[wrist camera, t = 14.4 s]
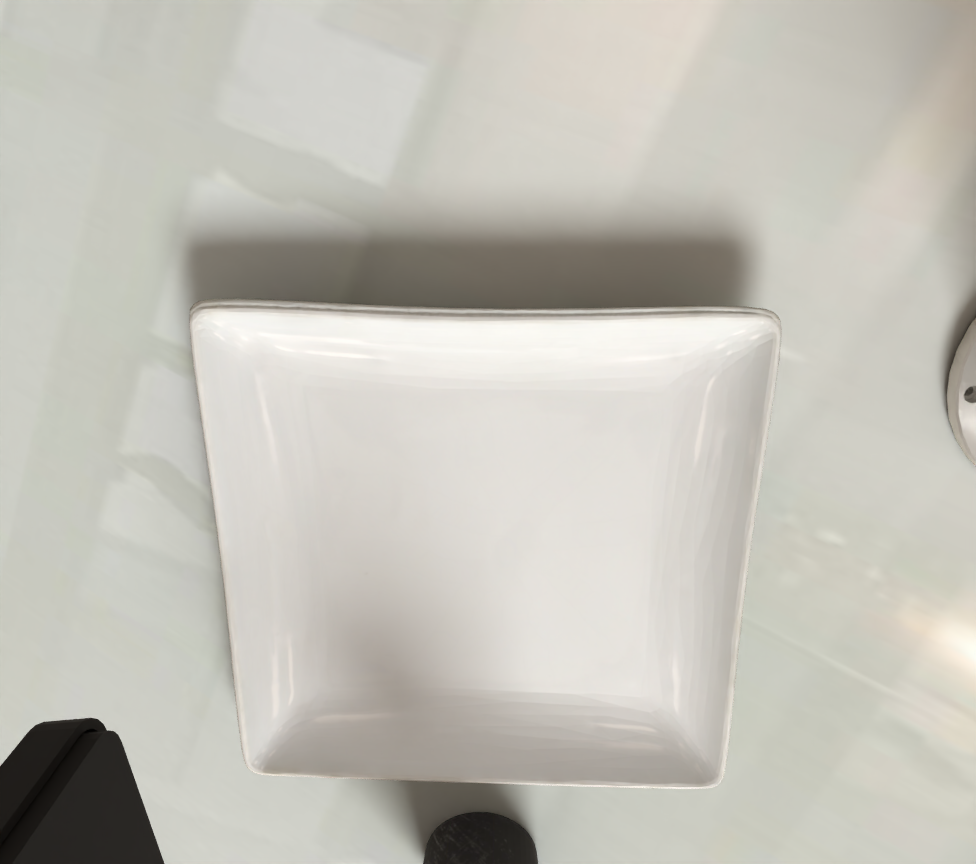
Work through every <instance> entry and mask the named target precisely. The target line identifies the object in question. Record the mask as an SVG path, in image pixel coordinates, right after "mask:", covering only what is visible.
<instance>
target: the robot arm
mask: <svg viewBox="0 0 976 864" xmlns="http://www.w3.org/2000/svg"><path fill="white" fill-rule="evenodd" d="M967 389H968V390H967ZM966 390H967V391H966ZM965 391H966V392H965ZM947 404H948V415H949V421H950V424H951V427H952V430H953V433H954V436H955V439H956V441H957V442H958V444H959V446H960V447H961V449H962V450H963V452H964V454H965V455H966V457H967V458H968V459H969V460H970V461H971V462H972V463H973V464H974V465H975V466H976V318H975V319H974V321H973V322H972V323H971V325H970V326H969V328H968V330H967V332H966V333H965V335H964V337H963V339H962V341H961V343H960V345H959V347H958V349H957V351H956V354H955V358H954V361H953V364H952V367H951V370H950V374H949V382H948V390H947ZM0 864H164V861H163V859H162V856H161V853H160V850H159V847H158V844H157V841H156V839H155V836H154V833H153V830H152V827H151V824H150V821H149V819H148V816H147V813H146V810H145V807H144V804H143V802H142V799H141V796H140V793H139V790H138V787H137V784H136V782H135V779H134V776H133V773H132V770H131V767H130V765H129V762H128V759H127V756H126V753H125V750H124V747H123V745H122V742H121V740H120V738H119V736H118V734H116V733H115V732H114V731H107V730H106V728H105V726H104V724H103V723H102V722H100V721H99V720H98V719H94V718H85V719H73V720H61V721H50V722H43V723H40V724H37V725H35V726H34V727H33V728H32V729H31V730H30V731H29V732H28V733H27V734H26V736H25V737H24V738H23V739H22V740H21V742H20V743H19V744H18V745H17V747H16V748H15V749H14V750H13V751H12V753H11V754H10V755H9V756H8V758H7V759H6V760H5V761H4V762H3V764H2V765H1V766H0Z"/></svg>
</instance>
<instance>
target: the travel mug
mask: <svg viewBox="0 0 976 864" xmlns="http://www.w3.org/2000/svg"><path fill="white" fill-rule="evenodd" d="M423 864H538V860H537V852H536V848H535V845H534V843H533V841H532V839H531V837H530V836H529V834H528V833H527V832H526V831H525V830H524V829H523V828H522V827H521V826H520V825H518V824H517V823H515V822H514V821H512V820H510V819H508V818H505V817H503V816H500V815H496V814H491V813H480V812H478V813H468V814H463V815H459V816H456V817H454V818H451V819H449V820H447V821H446V822H444V823H443V824H441V825H440V826H439V827H438V828H437V829H436V830H435V831H434V833H433V834H432V836H431V837H430V839H429V841H428V844H427V847H426V852H425V857H424V863H423Z"/></svg>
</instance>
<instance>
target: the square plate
mask: <svg viewBox="0 0 976 864" xmlns="http://www.w3.org/2000/svg"><path fill="white" fill-rule="evenodd" d="M189 323H190V338H191V348H192V356H193V365H194V372H195V379H196V386H197V395H198V401H199V407H200V415H201V422H202V428H203V435H204V442H205V449H206V456H207V463H208V470H209V477H210V482H211V491H212V498H213V504H214V512H215V520H216V528H217V536H218V544H219V552H220V560H221V568H222V575H223V584H224V594H225V603H226V612H227V621H228V630H229V640H230V649H231V659H232V669H233V679H234V690H235V698H236V708H237V717H238V725H239V733H240V739H241V748H242V753H243V758H244V761H245V764H246V766H247V768H248V769H249V770H251V771H252V772H254V773H257V774H262V775H275V776H301V777H324V778H350V779H376V780H404V781H435V782H466V783H496V784H525V785H555V786H590V787H627V788H669V789H701V788H711V787H715V786H717V785H719V784H720V782H721V781H722V779H723V777H724V773H725V767H726V761H727V754H728V747H729V739H730V730H731V721H732V711H733V701H734V691H735V680H736V670H737V659H738V650H739V642H740V634H741V623H742V614H743V605H744V597H745V589H746V580H747V572H748V565H749V559H750V551H751V544H752V537H753V529H754V523H755V516H756V510H757V503H758V497H759V490H760V483H761V477H762V471H763V464H764V458H765V452H766V446H767V439H768V432H769V426H770V419H771V413H772V406H773V399H774V393H775V386H776V379H777V372H778V365H779V357H780V346H781V321H780V319H779V317H778V316H777V315H776V314H775V313H774V312H772V311H769V310H767V309H761V308H753V307H739V306H676V307H622V308H553V309H490V308H441V307H409V306H384V305H362V304H344V303H326V302H308V301H288V300H264V299H207V300H202V301H199V302H197V303H195V304H194V305H193V306H192V307H191V309H190V319H189Z"/></svg>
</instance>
